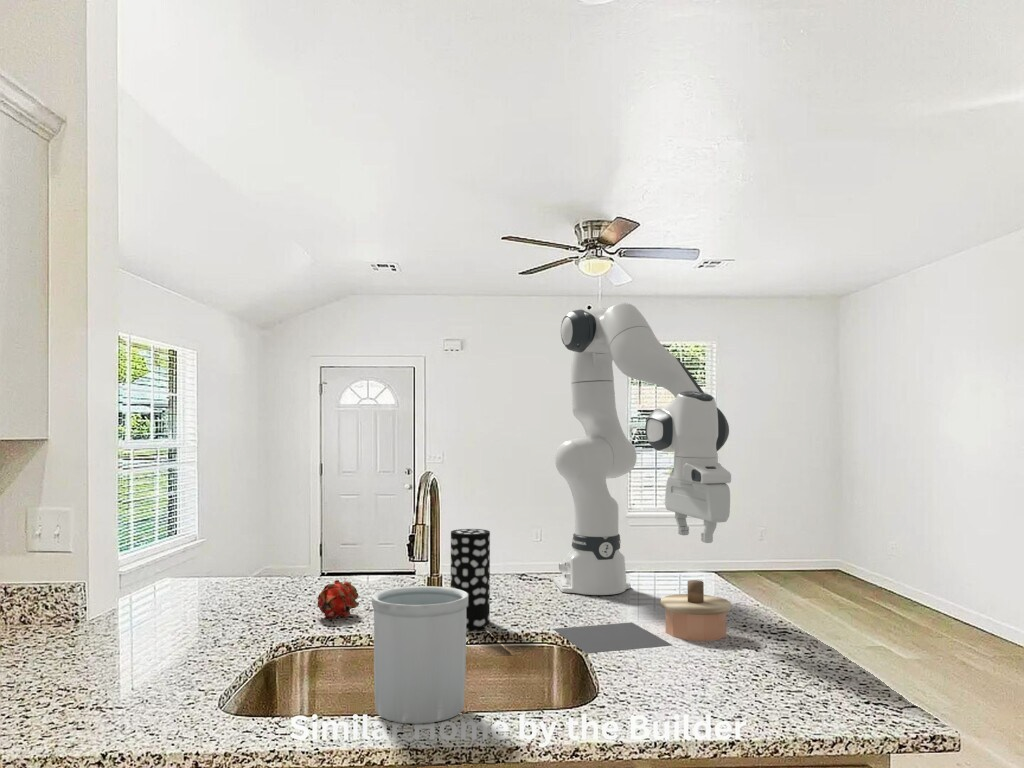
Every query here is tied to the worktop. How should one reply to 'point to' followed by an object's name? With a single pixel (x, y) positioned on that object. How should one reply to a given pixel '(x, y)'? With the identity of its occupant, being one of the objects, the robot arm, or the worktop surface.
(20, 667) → the worktop surface
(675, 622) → the bowl
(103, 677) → the worktop surface
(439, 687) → the utensil holder
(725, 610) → the lid
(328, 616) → the dragon fruit
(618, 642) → the mat
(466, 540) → the white-spotted black cylinder
